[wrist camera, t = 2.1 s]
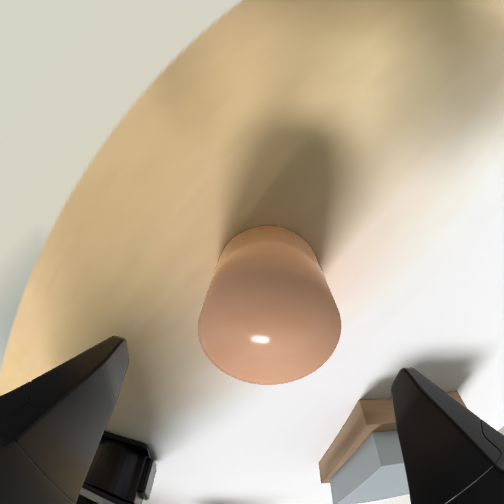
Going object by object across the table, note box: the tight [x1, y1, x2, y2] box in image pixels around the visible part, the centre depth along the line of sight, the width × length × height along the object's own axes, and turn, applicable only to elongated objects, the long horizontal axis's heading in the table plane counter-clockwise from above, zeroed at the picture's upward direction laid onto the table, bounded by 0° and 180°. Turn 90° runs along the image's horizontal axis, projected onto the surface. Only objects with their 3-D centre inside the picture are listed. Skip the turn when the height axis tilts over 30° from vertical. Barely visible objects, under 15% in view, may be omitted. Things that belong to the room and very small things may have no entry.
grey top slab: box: [330, 430, 409, 504], centre depth 16 cm, size 8×8×3 cm
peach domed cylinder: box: [198, 226, 341, 385], centre depth 12 cm, size 5×5×5 cm
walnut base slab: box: [319, 391, 467, 483], centre depth 19 cm, size 10×10×3 cm
